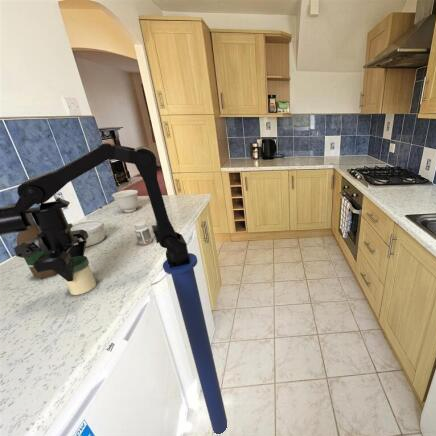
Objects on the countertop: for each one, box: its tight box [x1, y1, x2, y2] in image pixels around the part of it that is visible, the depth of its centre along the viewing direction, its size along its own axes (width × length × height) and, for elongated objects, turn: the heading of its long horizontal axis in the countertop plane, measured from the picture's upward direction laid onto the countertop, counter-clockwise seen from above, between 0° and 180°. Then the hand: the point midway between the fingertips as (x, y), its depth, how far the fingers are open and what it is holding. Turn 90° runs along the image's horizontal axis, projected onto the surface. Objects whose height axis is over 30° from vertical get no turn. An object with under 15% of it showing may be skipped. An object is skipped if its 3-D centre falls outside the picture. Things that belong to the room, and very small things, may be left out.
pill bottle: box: [133, 221, 153, 246], centre depth 97 cm, size 5×5×8 cm
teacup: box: [111, 189, 139, 213], centre depth 132 cm, size 12×15×10 cm
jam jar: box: [62, 264, 97, 296], centre depth 71 cm, size 6×6×8 cm
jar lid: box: [71, 255, 90, 272], centre depth 70 cm, size 7×7×2 cm
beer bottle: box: [9, 203, 58, 279], centre depth 76 cm, size 8×8×24 cm
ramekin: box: [71, 219, 106, 248], centre depth 99 cm, size 13×13×7 cm
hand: (75, 273), depth 71 cm, fingers open, 7 cm apart
